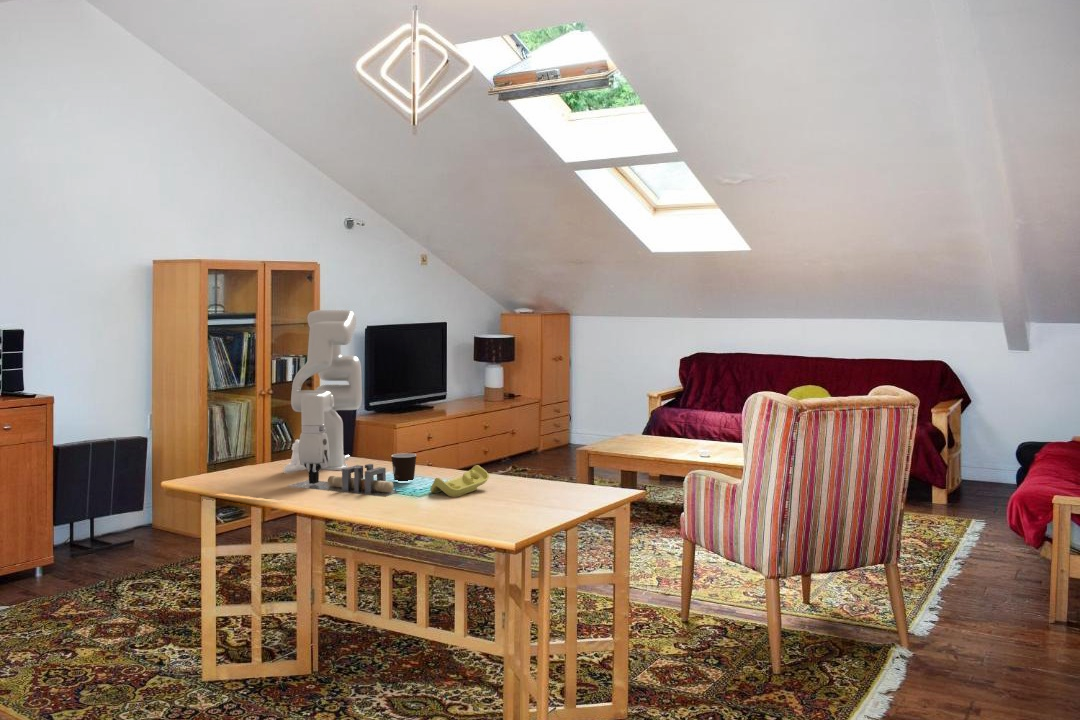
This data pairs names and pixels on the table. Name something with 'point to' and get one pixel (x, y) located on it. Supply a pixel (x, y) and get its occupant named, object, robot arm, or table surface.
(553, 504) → the table surface
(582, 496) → the table surface
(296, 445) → the white creature statuette
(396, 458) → the coffee mug
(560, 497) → the table surface
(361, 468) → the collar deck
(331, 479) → the dowel
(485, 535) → the table surface
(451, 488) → the plastic component
